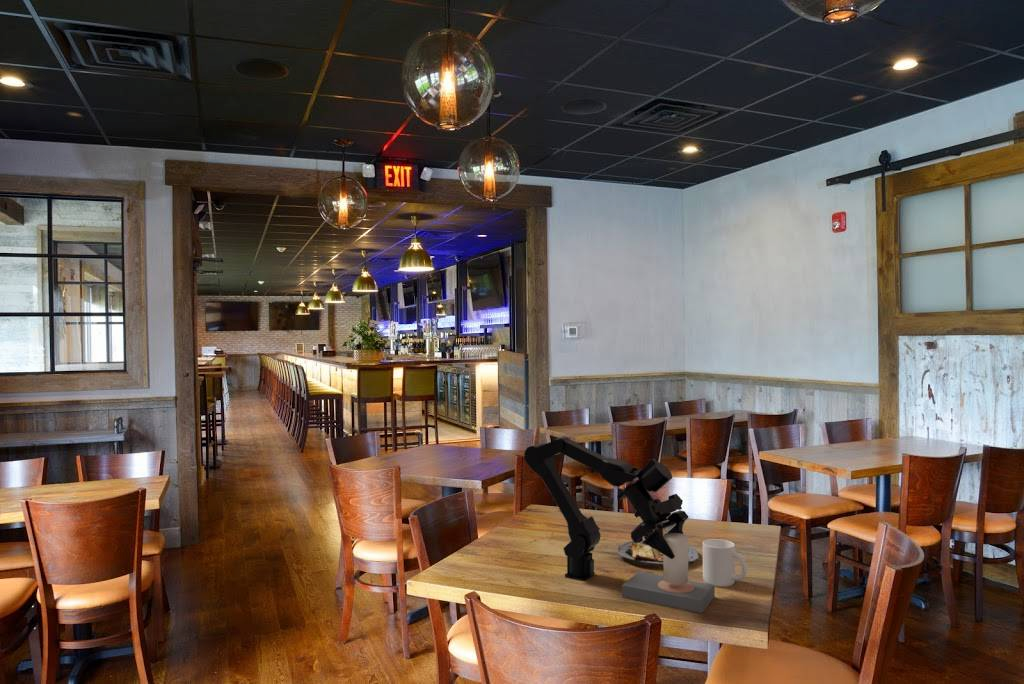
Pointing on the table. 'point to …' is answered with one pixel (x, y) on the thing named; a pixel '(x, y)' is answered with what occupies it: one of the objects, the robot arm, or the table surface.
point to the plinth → (668, 592)
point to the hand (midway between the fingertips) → (680, 555)
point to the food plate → (648, 553)
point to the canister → (676, 559)
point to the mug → (721, 563)
